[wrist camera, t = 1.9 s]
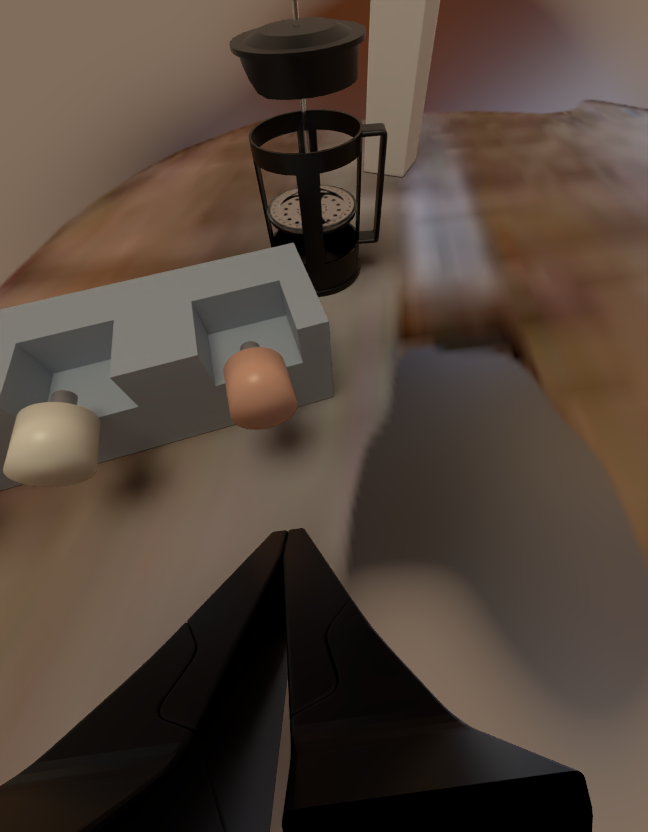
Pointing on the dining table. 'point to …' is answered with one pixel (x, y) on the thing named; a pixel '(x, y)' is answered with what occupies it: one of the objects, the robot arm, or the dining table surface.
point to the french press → (311, 140)
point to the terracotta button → (258, 387)
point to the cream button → (53, 443)
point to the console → (163, 348)
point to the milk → (398, 78)
